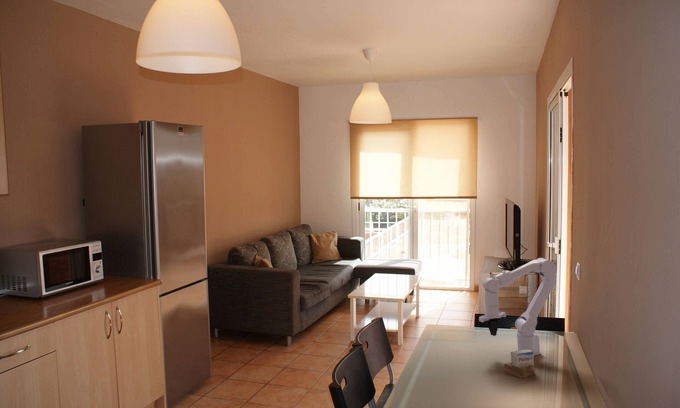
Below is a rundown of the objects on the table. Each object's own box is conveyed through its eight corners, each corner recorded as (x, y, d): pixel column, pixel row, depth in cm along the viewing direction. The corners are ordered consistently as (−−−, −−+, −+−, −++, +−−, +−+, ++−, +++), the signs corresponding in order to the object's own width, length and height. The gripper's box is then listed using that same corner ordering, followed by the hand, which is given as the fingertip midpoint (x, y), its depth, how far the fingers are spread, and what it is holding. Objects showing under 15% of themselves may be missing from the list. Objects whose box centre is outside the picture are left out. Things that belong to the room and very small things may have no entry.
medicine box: (517, 375, 216) (516, 354, 216) (511, 372, 221) (510, 351, 220) (534, 372, 219) (533, 351, 218) (527, 369, 223) (526, 348, 223)
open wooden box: (516, 368, 224) (516, 360, 224) (534, 374, 217) (534, 365, 217) (504, 372, 221) (504, 364, 220) (522, 378, 213) (522, 369, 213)
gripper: (486, 309, 235) (488, 340, 235) (510, 304, 242) (511, 334, 242) (475, 306, 241) (476, 336, 241) (498, 301, 248) (500, 330, 248)
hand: (493, 335), depth 242 cm, fingers closed
